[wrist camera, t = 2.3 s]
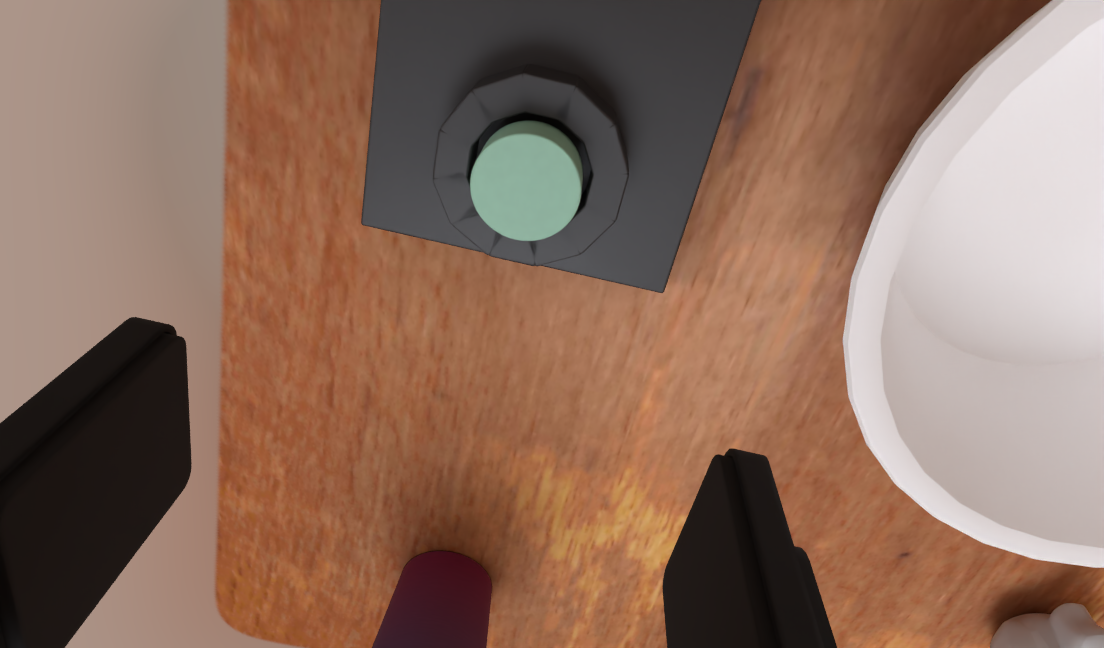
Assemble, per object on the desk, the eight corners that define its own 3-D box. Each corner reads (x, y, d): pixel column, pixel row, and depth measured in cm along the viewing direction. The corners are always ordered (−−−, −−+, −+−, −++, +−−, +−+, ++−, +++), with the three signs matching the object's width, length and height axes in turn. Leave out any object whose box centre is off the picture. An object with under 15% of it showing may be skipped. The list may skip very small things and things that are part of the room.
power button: (487, 108, 23) (479, 121, 22) (594, 133, 24) (593, 148, 22) (470, 210, 25) (461, 228, 24) (570, 232, 25) (567, 252, 24)
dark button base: (431, -384, 20) (399, -439, 17) (840, -274, 21) (880, -308, 18) (373, 209, 29) (345, 243, 26) (660, 275, 29) (667, 316, 26)
